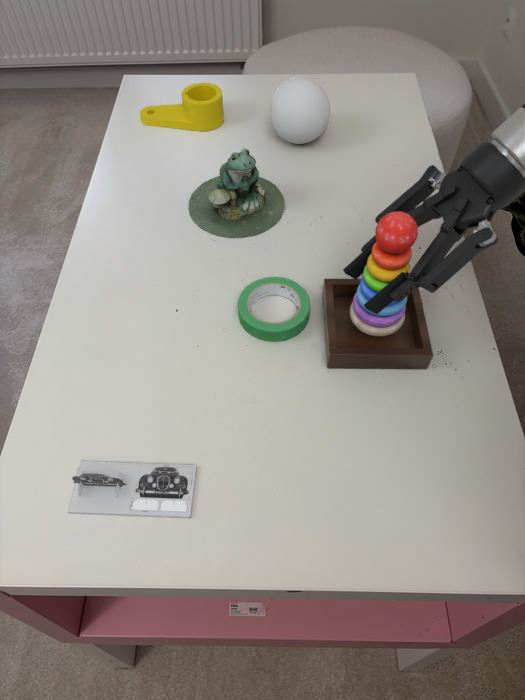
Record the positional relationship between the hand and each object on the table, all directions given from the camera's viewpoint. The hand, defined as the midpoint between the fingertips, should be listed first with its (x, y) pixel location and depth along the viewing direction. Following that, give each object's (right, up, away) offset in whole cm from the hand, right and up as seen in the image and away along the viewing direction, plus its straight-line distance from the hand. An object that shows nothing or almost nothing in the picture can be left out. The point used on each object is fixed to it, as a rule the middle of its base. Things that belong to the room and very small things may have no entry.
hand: (360, 291), depth 70 cm
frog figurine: (-18, +19, +26) cm, 37 cm away
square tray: (+3, -5, +9) cm, 11 cm away
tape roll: (-12, -2, +11) cm, 16 cm away
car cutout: (-29, -26, -5) cm, 39 cm away
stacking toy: (+4, -3, +6) cm, 8 cm away
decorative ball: (-6, +36, +38) cm, 53 cm away
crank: (-31, +42, +42) cm, 67 cm away
